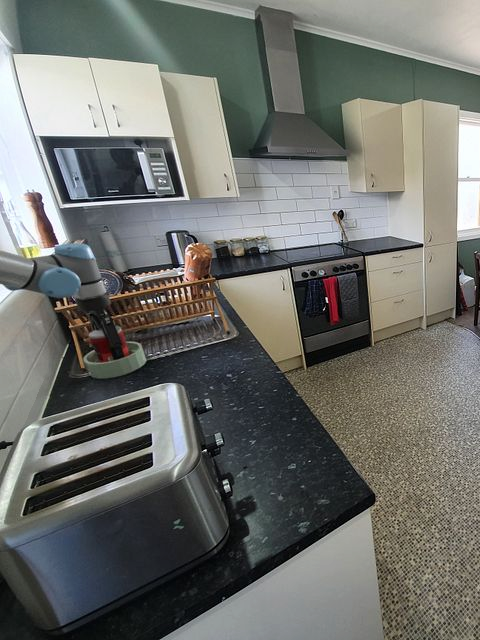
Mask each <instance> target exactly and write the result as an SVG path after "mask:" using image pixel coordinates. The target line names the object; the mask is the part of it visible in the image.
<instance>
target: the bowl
mask: <svg viewBox="0 0 480 640" xmlns="http://www.w3.org/2000/svg"><path fill="white" fill-rule="evenodd" d="M126 343H127V345H128V348H129V351H130V354H131V355H129V356H127V357H124V358H121V359H118V360H114V361H110V362H103V363H100V362H99V360H98V357H97V355H96V352H95V350H94V349H93V350H91V351H90V352H88V353H86V355H85V356H83V361H82V362H84V365H85V368H86V370H87V372H88V374H89V376H90V377H91V378H93V379H102V380H103V379H113V378H118V377H121V376H125V375H127V374H130V373H132V372H135V371H136V370H138V369H140V368H141V367H143V366H144V365H145V364H146V363H147V357H146V354H145V351H144V349H143V345H142V344H141V343H139V342H137V341H126Z"/></svg>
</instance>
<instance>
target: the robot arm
mask: <svg viewBox="0 0 480 640" xmlns="http://www.w3.org/2000/svg"><path fill="white" fill-rule="evenodd" d="M53 250H54V253H52V254H49V255H42V256H36V257H26V256H22V255H18V254H15V253H11V252H7V251H4V250H1V249H0V285H2V286H3V287H4V288H6V290H8V291H22V290H24V291H29V292H34V293H39V294H43V295H45V296H47V297H51V298H56V299H65V298H66V299H67V298H69V297H73V298H75V299H74V301H75V304H76V307H77V309H78V310H79V311H81V312H84V313H85V314H86V316H87V319H88V322H89V325H90V327H91V330H92V331H94V330H100V329H101V330H102V332H103V334H104V335H105V337H106V340H107V342H108V344H109V346H110V347H109V348H108V350H109V349H110V351H111V354H112V357H113V359H114V360H118V359H121V358H124V357H125V356H124V353H123V350H122V348H121V346H123V343H122V341H121V339H120V337H119V334H118V332H117V330H116V327H115V326H116V325H115V323H114V318H113V317H112V316H110V313H109V312H108V311H106V309H107V308H109V307H110V306H111V305H112V301H111V300H110V299H111V298H110V297H109V294H108V293H107V288H106V286H105V285H107V282H106V281H104V280H103V277H102V276H101V272H100V269H99V267H98V263H97V259H96V257H95V255H94V253H93V251H92V249H91V247H90V246H89V245H88V244H85V243H79V242H78V243H77V242H75V243H73V242H72V243H64V244H58V245H55V246H54V249H53Z"/></svg>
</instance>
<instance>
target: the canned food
mask: <svg viewBox="0 0 480 640" xmlns="http://www.w3.org/2000/svg"><path fill="white" fill-rule="evenodd" d="M115 327H116V330H117V332H118V334H119V337H120V339H121V341H122V343H123V346H121V348H122V350H123V353H124V356H125V357H127V356H129V355H131V354H130V351H129V348H128V345H127V343H126V342H127V340H126V337H125V334H124V332H123V329H122V327H121V326H119V325H115ZM88 337H89V340H90V342H91V345H92V347H93V350H95V352H96V355H97V357H98V360H99V362H100V363H103V362H110V361H114V359H113V357H112V354H111V351H110V349H109V350H108V348H109V347H110V346H109V344H108V342H107V340H106V337H105V335H104V334H103V332H102V330H101V329H100V330H94V331H93V330H92V331H90V332H89V333H88Z"/></svg>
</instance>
